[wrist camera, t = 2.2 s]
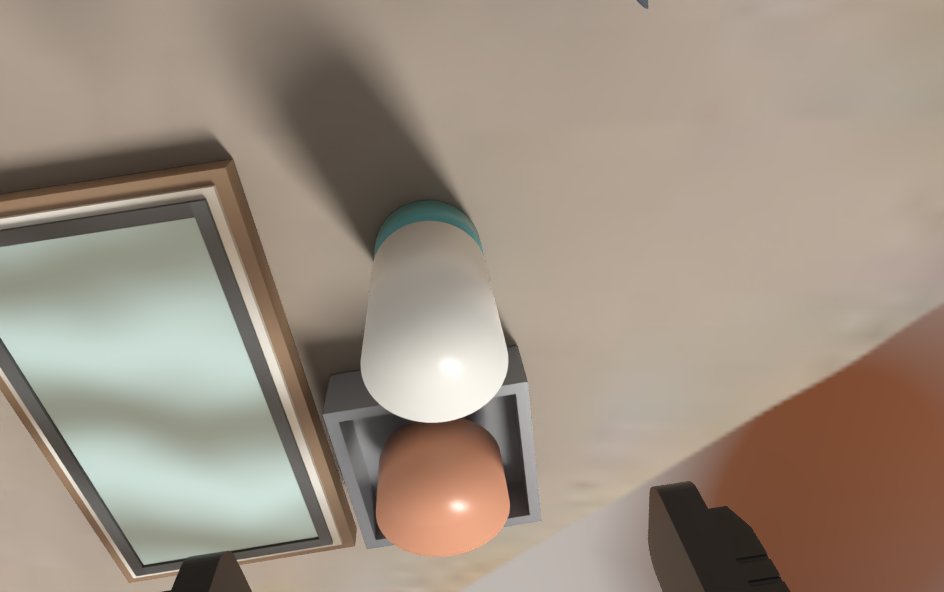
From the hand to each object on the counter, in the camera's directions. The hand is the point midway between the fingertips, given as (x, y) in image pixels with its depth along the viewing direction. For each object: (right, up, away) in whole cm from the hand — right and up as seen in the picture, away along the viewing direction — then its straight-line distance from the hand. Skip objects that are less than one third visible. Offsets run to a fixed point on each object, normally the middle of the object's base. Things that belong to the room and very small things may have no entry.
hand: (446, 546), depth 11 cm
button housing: (-1, -1, +16) cm, 16 cm away
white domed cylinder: (-1, +7, +11) cm, 13 cm away
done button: (-1, -2, +14) cm, 14 cm away
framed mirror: (-12, 0, +13) cm, 18 cm away
